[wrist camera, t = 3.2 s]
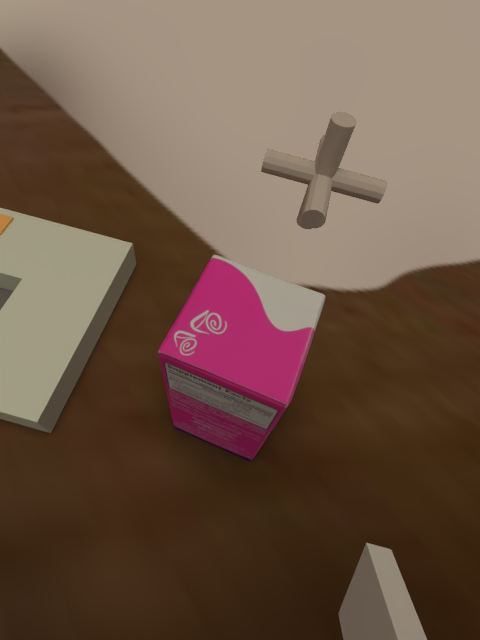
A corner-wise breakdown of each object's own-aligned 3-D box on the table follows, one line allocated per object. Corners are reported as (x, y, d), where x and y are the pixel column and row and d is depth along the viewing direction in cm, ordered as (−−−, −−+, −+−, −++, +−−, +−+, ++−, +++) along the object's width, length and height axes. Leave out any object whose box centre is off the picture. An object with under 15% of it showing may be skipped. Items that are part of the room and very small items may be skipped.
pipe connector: (266, 174, 38) (288, 68, 30) (362, 200, 38) (413, 100, 29) (241, 245, 33) (260, 141, 24) (352, 276, 33) (411, 182, 24)
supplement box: (205, 353, 27) (214, 247, 18) (281, 385, 27) (335, 294, 17) (168, 427, 24) (154, 349, 15) (252, 464, 24) (297, 410, 14)
